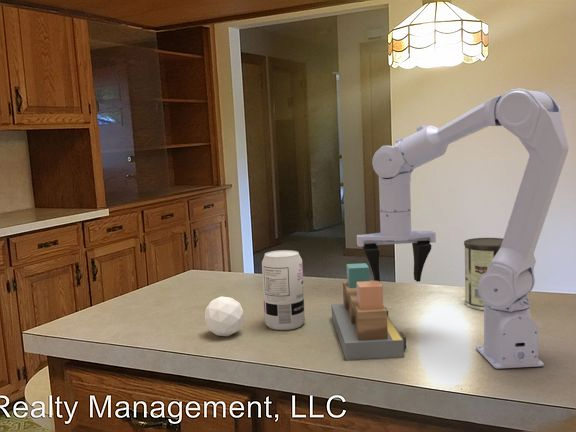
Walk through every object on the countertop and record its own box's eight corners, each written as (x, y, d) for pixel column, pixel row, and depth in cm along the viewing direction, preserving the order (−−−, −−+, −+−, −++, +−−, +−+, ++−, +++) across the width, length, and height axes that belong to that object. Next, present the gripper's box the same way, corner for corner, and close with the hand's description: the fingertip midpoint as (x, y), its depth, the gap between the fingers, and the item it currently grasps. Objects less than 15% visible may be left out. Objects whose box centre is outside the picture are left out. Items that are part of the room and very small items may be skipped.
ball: (215, 349, 117) (189, 318, 117) (239, 324, 123) (214, 295, 122) (235, 338, 112) (207, 306, 111) (258, 313, 117) (232, 282, 117)
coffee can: (509, 298, 133) (509, 236, 132) (517, 311, 123) (518, 245, 122) (462, 297, 136) (461, 237, 134) (466, 310, 126) (466, 245, 124)
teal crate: (369, 287, 117) (369, 267, 117) (349, 288, 117) (348, 268, 117) (366, 282, 121) (365, 263, 121) (347, 283, 121) (346, 264, 121)
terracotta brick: (383, 308, 103) (382, 286, 102) (360, 309, 103) (359, 287, 102) (379, 302, 107) (378, 280, 106) (357, 303, 106) (356, 281, 106)
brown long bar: (387, 339, 102) (387, 310, 101) (358, 340, 102) (358, 312, 101) (367, 303, 124) (366, 280, 123) (343, 304, 123) (342, 281, 123)
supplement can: (259, 322, 124) (255, 252, 122) (295, 316, 127) (292, 248, 125) (273, 333, 116) (270, 259, 114) (311, 327, 120) (308, 254, 118)
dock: (409, 356, 101) (409, 339, 101) (345, 360, 101) (345, 342, 101) (383, 315, 125) (383, 301, 125) (331, 317, 125) (331, 303, 124)
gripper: (427, 206, 114) (429, 274, 116) (353, 210, 114) (355, 278, 115) (438, 210, 107) (439, 283, 109) (359, 214, 107) (361, 287, 108)
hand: (397, 281), depth 112 cm, fingers open, 7 cm apart
